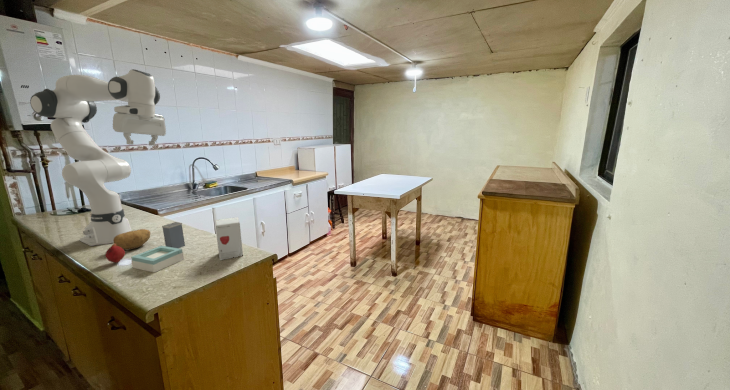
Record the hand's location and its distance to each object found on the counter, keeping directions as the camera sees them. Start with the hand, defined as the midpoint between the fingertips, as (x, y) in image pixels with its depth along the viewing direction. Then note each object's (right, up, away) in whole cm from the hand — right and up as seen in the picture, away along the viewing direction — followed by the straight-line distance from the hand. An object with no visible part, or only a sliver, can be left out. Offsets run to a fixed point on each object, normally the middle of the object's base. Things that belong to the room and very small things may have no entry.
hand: (141, 145), depth 122 cm
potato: (-10, -45, +9) cm, 47 cm away
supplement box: (+38, -47, +1) cm, 60 cm away
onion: (-5, -49, -6) cm, 49 cm away
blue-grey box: (+9, -45, +9) cm, 47 cm away
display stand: (+13, -48, -7) cm, 50 cm away
